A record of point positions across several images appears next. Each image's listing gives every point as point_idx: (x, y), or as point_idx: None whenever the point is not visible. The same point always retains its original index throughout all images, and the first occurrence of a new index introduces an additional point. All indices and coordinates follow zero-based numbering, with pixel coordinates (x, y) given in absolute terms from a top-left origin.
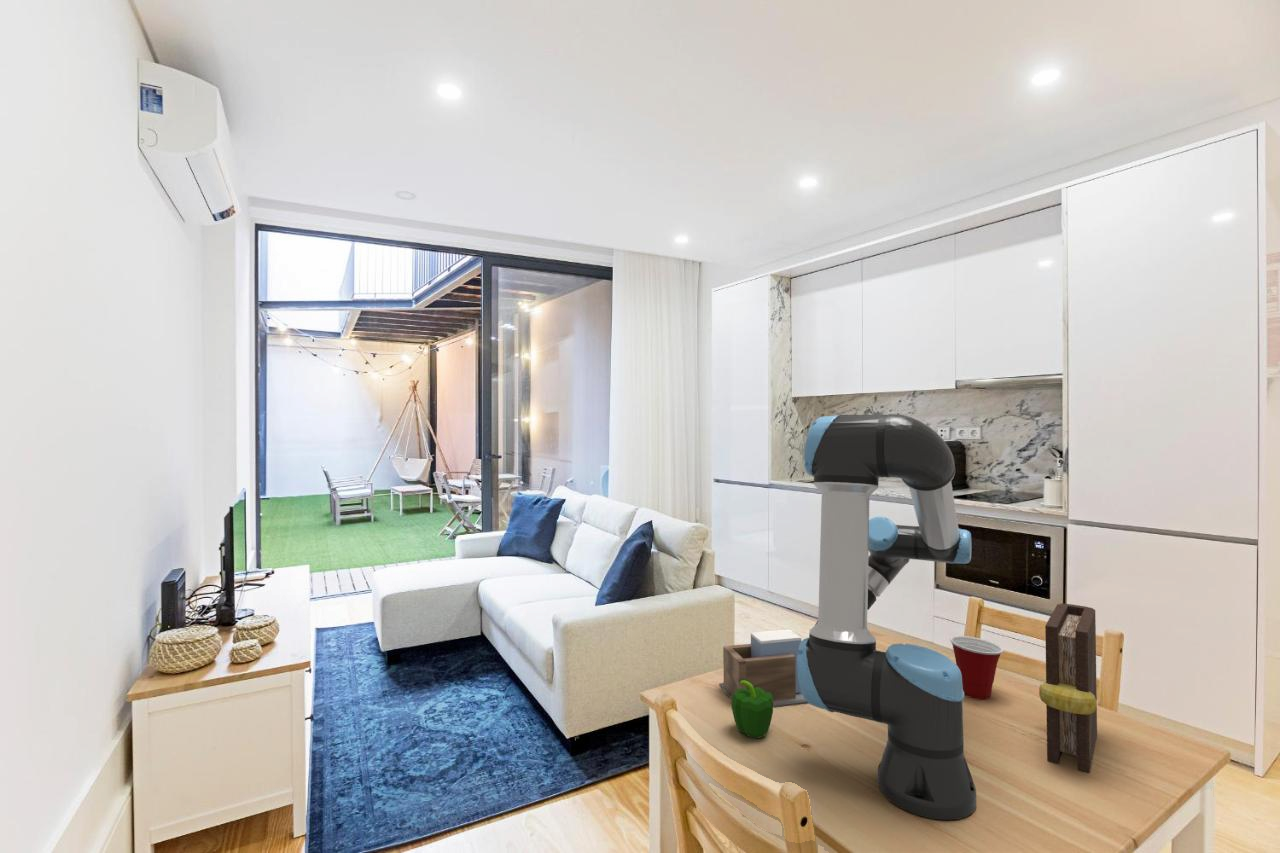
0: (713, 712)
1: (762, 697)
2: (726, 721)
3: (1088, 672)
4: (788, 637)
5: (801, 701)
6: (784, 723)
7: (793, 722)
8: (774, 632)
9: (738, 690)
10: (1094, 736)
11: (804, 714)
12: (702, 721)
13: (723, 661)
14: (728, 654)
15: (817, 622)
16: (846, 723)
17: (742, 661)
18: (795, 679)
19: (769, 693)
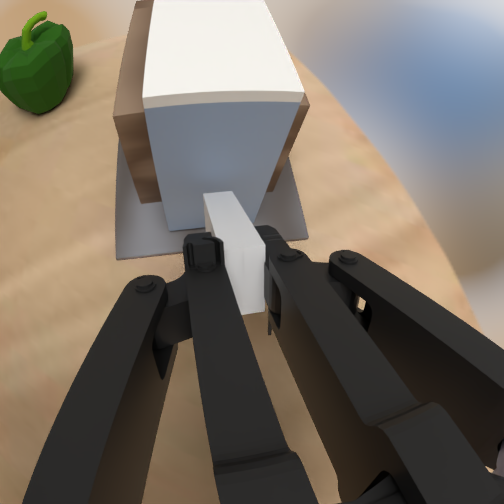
0: None
1: (6, 56)
2: (99, 64)
3: None
4: (165, 52)
5: (120, 213)
6: (47, 149)
7: (43, 167)
8: (253, 30)
9: (57, 25)
10: None
11: (65, 203)
12: (115, 40)
13: None
14: None
15: (406, 291)
16: (3, 289)
17: (136, 5)
18: (130, 172)
19: (9, 65)
